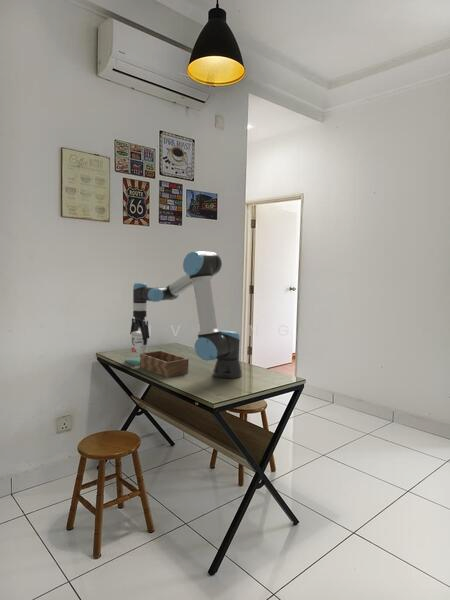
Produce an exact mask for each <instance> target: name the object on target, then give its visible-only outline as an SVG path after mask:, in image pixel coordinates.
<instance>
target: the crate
mask: <svg viewBox="0 0 450 600" xmlns="http://www.w3.org/2000/svg"><path fill="white" fill-rule="evenodd" d="M139 357H140V365H139V367H140V368H141V369H145V370H147V371H149V372H152V373H155V374H157V375H159V376H162V377H165V378H170V377H175V376H180V375H184V374H185V375H186V374H189V358H186V357H184V356H180V355H177V354H173V353H171V352H167V351H164V350H156V351H148V352H147V353H139Z"/></svg>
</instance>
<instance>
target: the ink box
mask: <svg viewBox="0 0 450 600" xmlns="http://www.w3.org/2000/svg"><path fill="white" fill-rule="evenodd" d="M130 332H131V331H130ZM130 335H131V337H130V338H131V339H130V340H131V341H130V342H131V343H130V344H131V353H137V354H142V353H148V352H149V351H148V350H149V348H148V347H149V343H148V342H149V340H148V339H149V338H148V339H147V350H143V351H142V338H143V337H142V333H141V330H138V331H134V332H131V334H130Z"/></svg>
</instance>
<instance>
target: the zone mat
mask: <svg viewBox="0 0 450 600" xmlns="http://www.w3.org/2000/svg"><path fill="white" fill-rule="evenodd" d="M124 362H125V363H127V364H131V365H133V366H140V356H139V357H138V356H137V357H133V358H132V357H131V358H127V359H124Z"/></svg>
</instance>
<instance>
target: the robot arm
mask: <svg viewBox="0 0 450 600" xmlns="http://www.w3.org/2000/svg"><path fill="white" fill-rule="evenodd" d="M222 262H223V261H222V258H221V257H220V256H219V254H217V253H216V252H213V251H199V250H196V251H190V252H188V253H187V254H186V255H185V257H184V260H183V262H182V269H183V271H184V273H185V274H183V276H181V277H180V278H178V279H176V280H175V281H173V282H172V283H170V284H169V285H167V286H161V287H159V286H158V287H150V286H149V287H148V286H147V283H144V282H134V284H133V287H132V288H133V289H132V293H133V294H132V309H133V311H132V317H133V318H131V324H130V325H131V326H130V332H129V334H130V335H131V332H134V331H139V329H140V331H141V333H142V337H143V338H142V351H143V350H147V339H150V331H149V321H148V320H146V319H145V318H146V317H147V312H148V311H147V305H148V304H147V302H152V303H155V302H157V303H158V302H161V301H174V300H176V299H178V298H179V296H180V294H182V293H184V292H185V291H187V290H188V289H190V288H192V287H193V289H194V290H193V291H194V298H195V304H196V311H197V316H198V317H197V319H198V324H199V326H198V327H199V332H198V333H197V339H196V341H195V343H194V351H195V354H196V355H197V357H199V358H200V359H201V360H202V361H214V360H215V365H214V367H213V369H212V376H213V377H216V378H220V379H235V378H240V377H242V376H243V371H242V370H243V369H242V368H241V367H242V366H241V363H240V341H241V339H240V333H238V331H237V332H236V331H232V330H231V331H230V330H222V329H221V330H220V329H219V328H218V324H217V323H218V322H217V317H216V311H215V304H214V303H215V302H214V297H213V296H214V295H213V290H212V283H211V280H212V279H213V277H214V276H215V275H217V274H218V273H220V271H221V268H222V267H223V266H222V265H223V263H222Z"/></svg>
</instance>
